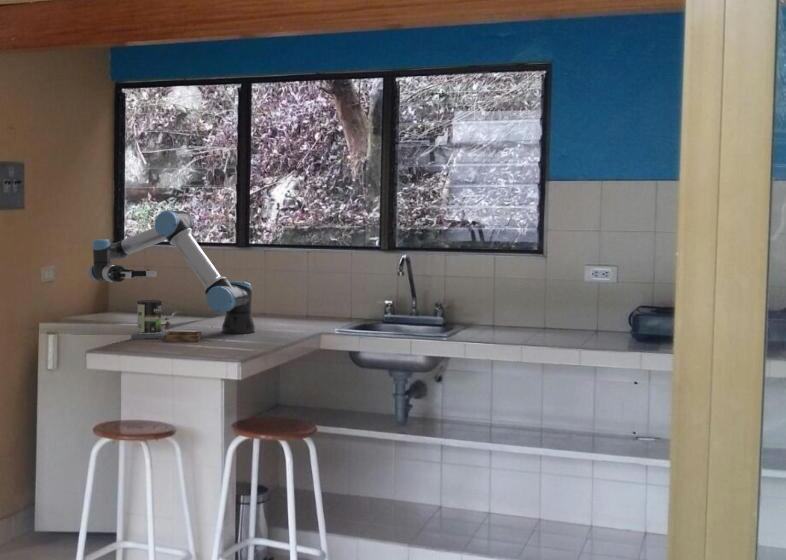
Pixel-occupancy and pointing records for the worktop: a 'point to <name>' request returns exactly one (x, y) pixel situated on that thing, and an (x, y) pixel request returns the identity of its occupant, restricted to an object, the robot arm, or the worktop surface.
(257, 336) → the worktop surface
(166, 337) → the walnut collar
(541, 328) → the worktop surface
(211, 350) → the worktop surface
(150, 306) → the coffee can
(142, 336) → the slate board
